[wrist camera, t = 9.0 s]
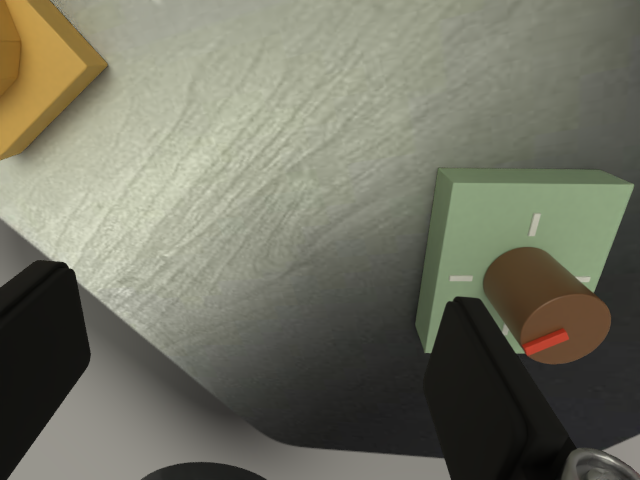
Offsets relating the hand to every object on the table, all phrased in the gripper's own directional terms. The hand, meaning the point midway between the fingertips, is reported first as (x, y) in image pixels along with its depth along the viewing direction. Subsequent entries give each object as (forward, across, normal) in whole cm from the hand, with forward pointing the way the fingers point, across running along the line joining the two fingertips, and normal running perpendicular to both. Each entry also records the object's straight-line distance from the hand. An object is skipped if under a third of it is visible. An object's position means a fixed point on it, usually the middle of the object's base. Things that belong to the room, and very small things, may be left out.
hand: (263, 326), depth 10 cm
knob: (+12, -14, +5) cm, 19 cm away
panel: (+15, -14, +5) cm, 22 cm away
